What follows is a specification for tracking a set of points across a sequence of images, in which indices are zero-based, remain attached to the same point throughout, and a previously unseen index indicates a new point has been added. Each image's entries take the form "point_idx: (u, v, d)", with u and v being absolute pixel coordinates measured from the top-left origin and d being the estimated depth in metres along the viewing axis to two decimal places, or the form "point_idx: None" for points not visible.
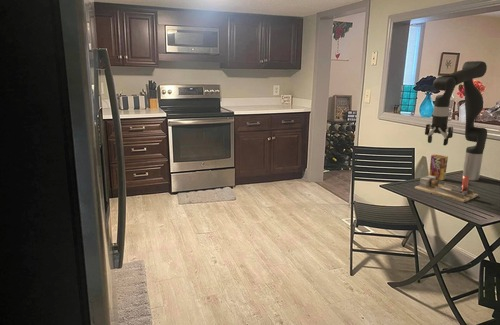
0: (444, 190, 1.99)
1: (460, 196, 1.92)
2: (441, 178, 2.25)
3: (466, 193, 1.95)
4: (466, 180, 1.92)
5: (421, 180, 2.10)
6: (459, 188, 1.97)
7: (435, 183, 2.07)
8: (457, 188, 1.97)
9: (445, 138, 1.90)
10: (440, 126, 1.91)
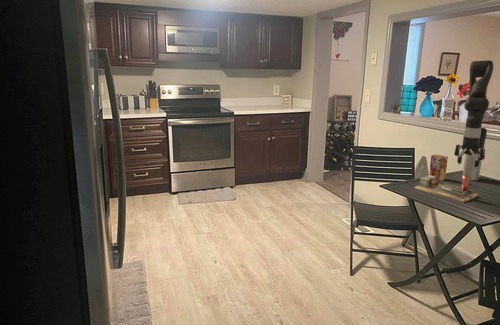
0: (444, 190, 1.99)
1: (460, 196, 1.92)
2: (441, 178, 2.25)
3: (466, 193, 1.95)
4: (466, 180, 1.92)
5: (421, 180, 2.10)
6: (459, 188, 1.97)
7: (435, 183, 2.07)
8: (457, 188, 1.97)
9: (477, 160, 1.85)
10: (471, 147, 1.87)
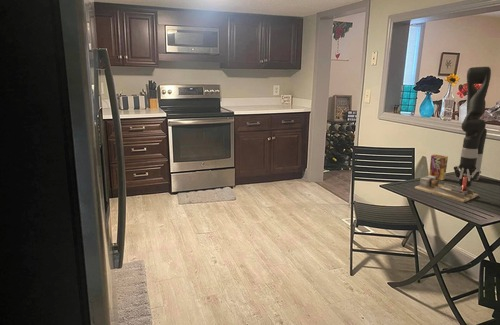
0: (444, 190, 1.99)
1: (460, 196, 1.92)
2: (441, 178, 2.25)
3: (466, 193, 1.95)
4: (466, 180, 1.92)
5: (421, 180, 2.10)
6: (459, 188, 1.97)
7: (435, 183, 2.07)
8: (457, 188, 1.97)
9: (469, 180, 1.91)
10: (468, 167, 1.90)
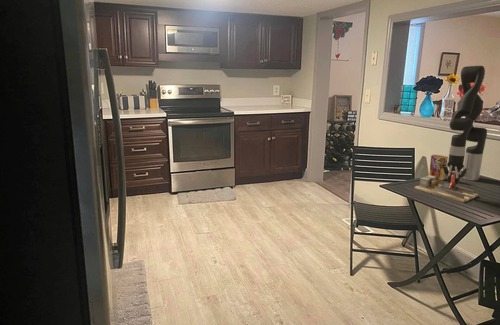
0: (444, 190, 1.99)
1: (460, 196, 1.92)
2: (441, 178, 2.25)
3: (454, 190, 2.00)
4: (454, 177, 1.97)
5: (421, 180, 2.10)
6: (448, 185, 2.02)
7: (435, 183, 2.07)
8: (445, 185, 2.02)
9: (457, 177, 1.96)
10: (456, 165, 1.95)
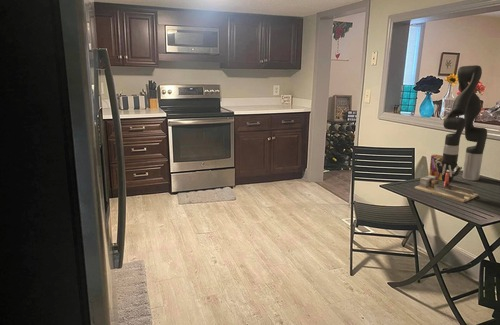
0: (444, 190, 1.99)
1: (460, 196, 1.92)
2: (441, 178, 2.25)
3: (448, 188, 2.03)
4: (448, 176, 2.00)
5: (421, 180, 2.10)
6: (442, 184, 2.05)
7: (435, 183, 2.07)
8: (440, 184, 2.05)
9: (450, 176, 1.99)
10: (450, 163, 1.98)
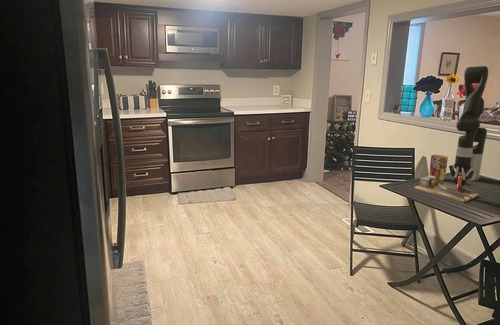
0: (444, 190, 1.99)
1: (460, 196, 1.92)
2: (441, 178, 2.25)
3: (461, 192, 1.97)
4: (461, 179, 1.94)
5: (421, 180, 2.10)
6: (454, 187, 1.99)
7: (435, 183, 2.07)
8: (452, 187, 1.99)
9: (463, 179, 1.93)
10: (463, 166, 1.92)
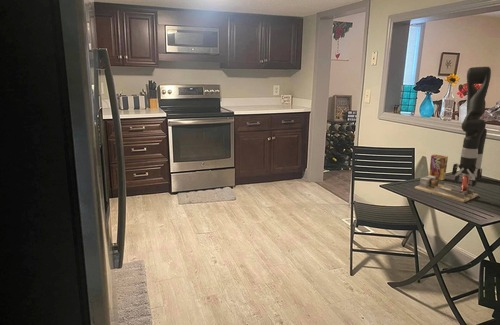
0: (444, 190, 1.99)
1: (460, 196, 1.92)
2: (441, 178, 2.25)
3: (466, 193, 1.95)
4: (466, 180, 1.92)
5: (421, 180, 2.10)
6: (459, 188, 1.97)
7: (435, 183, 2.07)
8: (457, 188, 1.97)
9: (474, 179, 1.88)
10: (468, 167, 1.90)
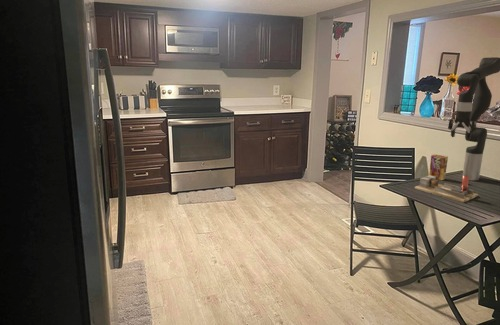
0: (444, 190, 1.99)
1: (460, 196, 1.92)
2: (441, 178, 2.25)
3: (466, 193, 1.95)
4: (466, 180, 1.92)
5: (421, 180, 2.10)
6: (459, 188, 1.97)
7: (435, 183, 2.07)
8: (457, 188, 1.97)
9: (468, 132, 1.99)
10: (464, 121, 2.00)
